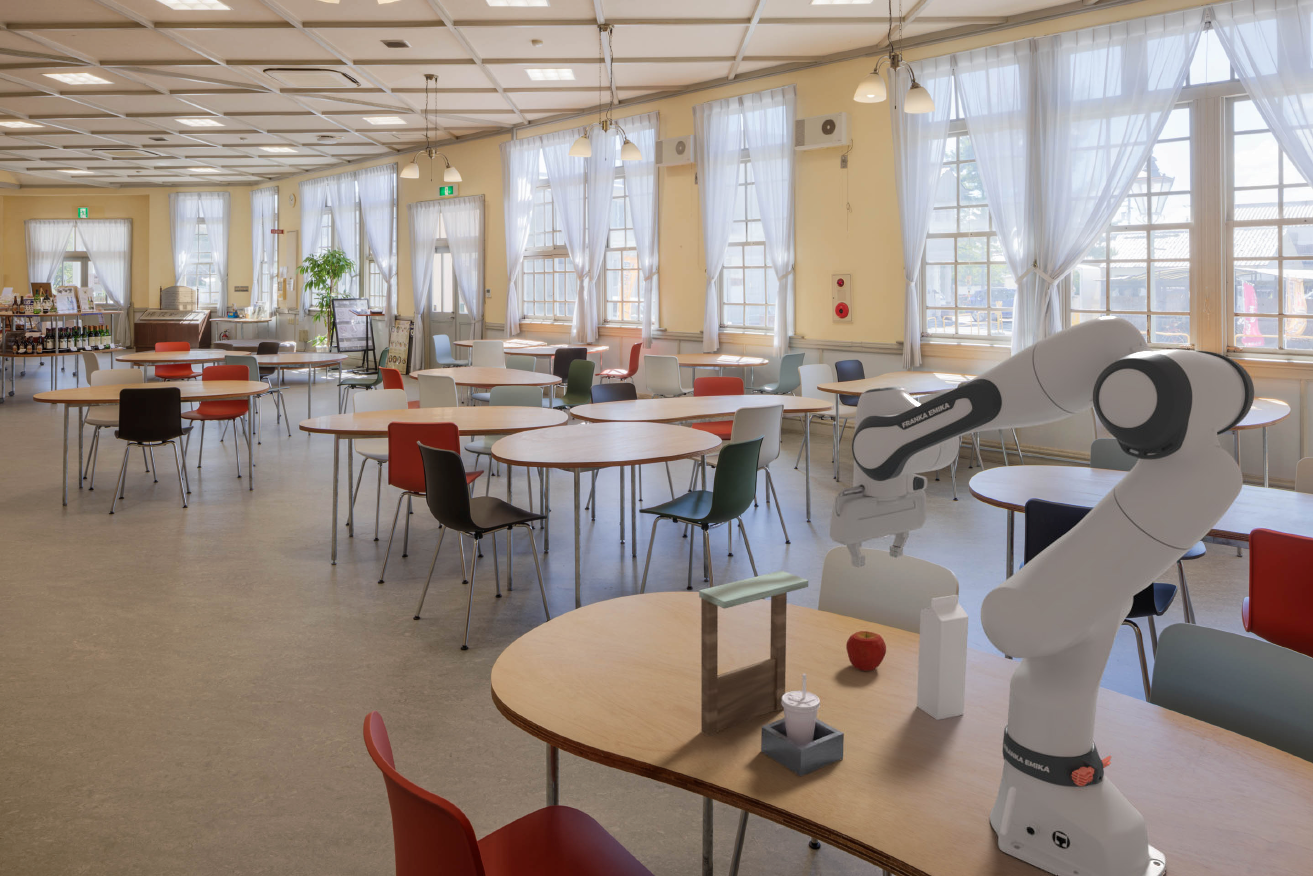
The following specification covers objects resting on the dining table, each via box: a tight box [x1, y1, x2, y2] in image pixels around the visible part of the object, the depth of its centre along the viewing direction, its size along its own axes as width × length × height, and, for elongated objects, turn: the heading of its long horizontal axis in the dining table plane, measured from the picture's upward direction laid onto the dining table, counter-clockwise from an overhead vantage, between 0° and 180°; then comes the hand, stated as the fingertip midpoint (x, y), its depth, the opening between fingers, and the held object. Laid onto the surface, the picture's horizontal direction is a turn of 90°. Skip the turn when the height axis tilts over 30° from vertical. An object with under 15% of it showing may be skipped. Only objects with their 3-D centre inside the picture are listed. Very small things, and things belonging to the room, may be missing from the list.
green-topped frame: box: [698, 570, 809, 737], centre depth 154 cm, size 7×19×26 cm, turn 124°
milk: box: [916, 594, 969, 721], centre depth 159 cm, size 6×6×22 cm
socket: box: [760, 717, 845, 777], centre depth 145 cm, size 10×10×4 cm
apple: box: [845, 630, 887, 672], centre depth 179 cm, size 8×8×8 cm
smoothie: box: [781, 673, 821, 746], centre depth 145 cm, size 6×6×14 cm
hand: (877, 561), depth 149 cm, fingers open, 8 cm apart
